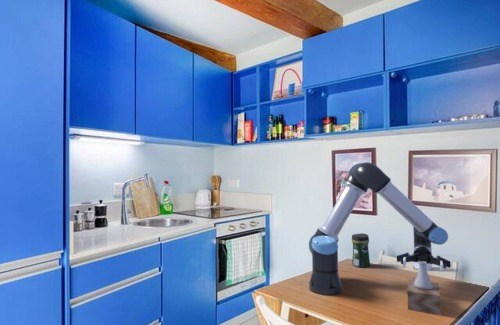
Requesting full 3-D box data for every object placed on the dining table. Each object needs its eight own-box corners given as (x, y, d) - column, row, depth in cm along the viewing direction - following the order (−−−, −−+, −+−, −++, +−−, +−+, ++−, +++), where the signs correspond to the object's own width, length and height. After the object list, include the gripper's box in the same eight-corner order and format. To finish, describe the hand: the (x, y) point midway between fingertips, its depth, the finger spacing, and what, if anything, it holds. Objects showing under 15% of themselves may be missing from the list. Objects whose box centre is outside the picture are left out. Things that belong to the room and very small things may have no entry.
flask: (436, 290, 124) (435, 264, 124) (416, 289, 125) (416, 264, 126) (429, 284, 131) (428, 260, 131) (410, 283, 132) (410, 259, 133)
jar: (435, 269, 175) (434, 248, 175) (424, 271, 172) (424, 249, 173) (421, 265, 183) (421, 244, 184) (411, 267, 180) (410, 246, 181)
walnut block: (407, 309, 123) (407, 291, 124) (409, 295, 137) (408, 279, 138) (440, 314, 118) (440, 295, 118) (438, 300, 132) (438, 283, 132)
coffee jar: (362, 263, 190) (361, 232, 191) (372, 266, 183) (371, 234, 183) (349, 264, 186) (349, 233, 187) (359, 268, 179) (358, 235, 179)
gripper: (454, 266, 140) (459, 279, 122) (393, 259, 152) (389, 271, 134) (454, 249, 141) (458, 260, 122) (393, 243, 153) (389, 253, 134)
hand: (422, 265), depth 128 cm, fingers open, 13 cm apart
